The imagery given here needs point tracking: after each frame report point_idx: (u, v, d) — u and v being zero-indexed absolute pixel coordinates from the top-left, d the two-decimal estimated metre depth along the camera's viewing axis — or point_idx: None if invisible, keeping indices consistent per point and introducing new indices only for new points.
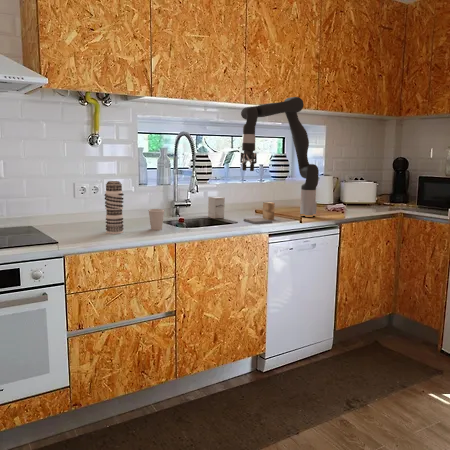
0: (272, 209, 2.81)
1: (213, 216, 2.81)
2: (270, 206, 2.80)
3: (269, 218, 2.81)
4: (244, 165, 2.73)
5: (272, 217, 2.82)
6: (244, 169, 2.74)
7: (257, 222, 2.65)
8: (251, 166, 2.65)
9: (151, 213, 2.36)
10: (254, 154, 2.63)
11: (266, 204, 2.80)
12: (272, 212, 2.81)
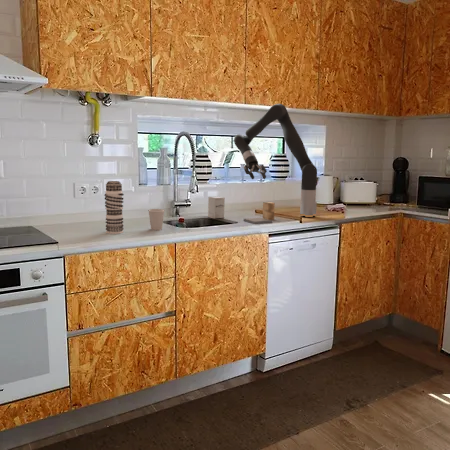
0: (272, 209, 2.81)
1: (213, 216, 2.81)
2: (270, 206, 2.80)
3: (269, 218, 2.81)
4: (262, 175, 2.93)
5: (272, 217, 2.82)
6: (264, 177, 2.92)
7: (257, 222, 2.65)
8: None
9: (151, 213, 2.36)
10: (244, 167, 2.91)
11: (266, 204, 2.80)
12: (272, 212, 2.81)
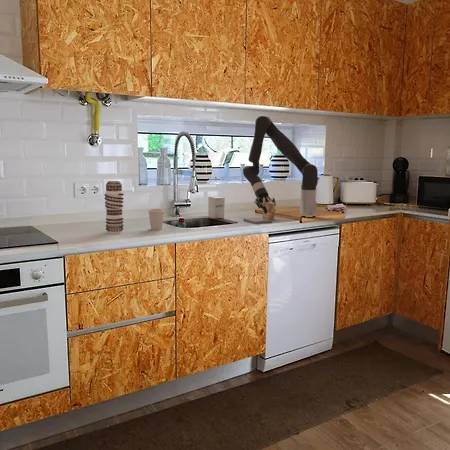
0: (272, 209, 2.81)
1: (213, 216, 2.81)
2: (270, 206, 2.80)
3: (269, 218, 2.81)
4: None
5: (272, 217, 2.82)
6: None
7: (257, 222, 2.65)
8: None
9: (151, 213, 2.36)
10: (255, 201, 2.83)
11: (266, 204, 2.80)
12: (272, 212, 2.81)
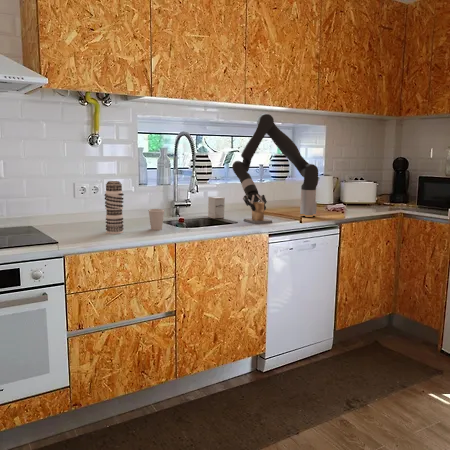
0: (261, 209, 2.69)
1: (213, 216, 2.81)
2: (259, 206, 2.68)
3: (258, 219, 2.69)
4: None
5: (261, 218, 2.70)
6: None
7: (257, 222, 2.65)
8: None
9: (151, 213, 2.36)
10: (244, 198, 2.71)
11: (255, 204, 2.68)
12: (261, 212, 2.69)
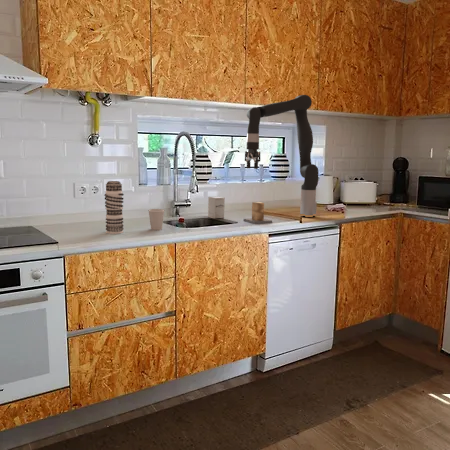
0: (261, 209, 2.69)
1: (213, 216, 2.81)
2: (259, 206, 2.68)
3: (258, 219, 2.69)
4: (248, 163, 2.86)
5: (261, 218, 2.70)
6: (248, 167, 2.86)
7: (257, 222, 2.65)
8: (255, 164, 2.78)
9: (151, 213, 2.36)
10: (258, 153, 2.76)
11: (255, 204, 2.68)
12: (261, 212, 2.69)
